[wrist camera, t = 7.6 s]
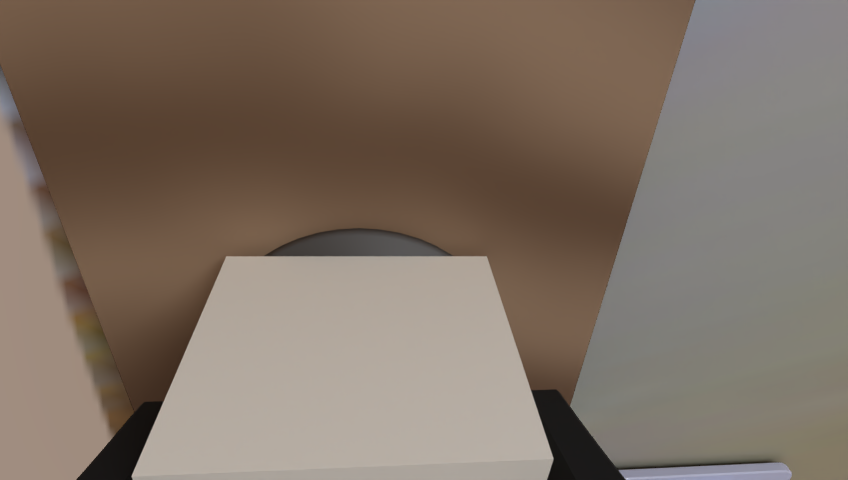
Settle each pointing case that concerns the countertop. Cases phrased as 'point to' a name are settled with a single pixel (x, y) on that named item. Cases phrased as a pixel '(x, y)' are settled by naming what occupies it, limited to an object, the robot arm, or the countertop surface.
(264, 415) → the collar
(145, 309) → the post board
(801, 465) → the countertop surface
